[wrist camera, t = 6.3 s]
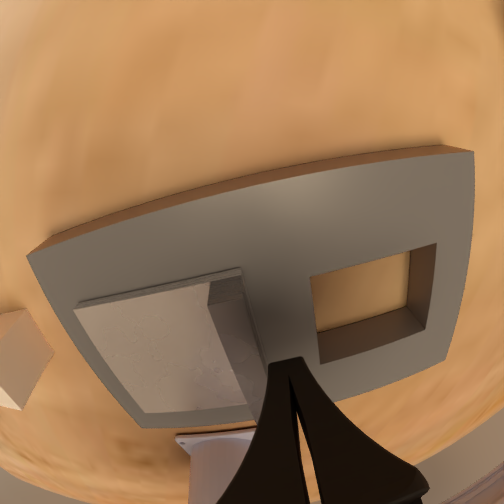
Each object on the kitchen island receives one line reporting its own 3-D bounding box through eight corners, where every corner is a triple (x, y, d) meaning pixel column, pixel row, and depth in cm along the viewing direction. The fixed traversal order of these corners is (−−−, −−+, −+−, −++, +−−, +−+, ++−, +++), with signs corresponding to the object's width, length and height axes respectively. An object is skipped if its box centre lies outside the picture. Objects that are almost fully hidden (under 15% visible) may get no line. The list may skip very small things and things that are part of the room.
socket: (429, 338, 18) (445, 360, 15) (147, 402, 18) (141, 428, 16) (443, 144, 12) (473, 151, 10) (50, 236, 13) (26, 255, 10)
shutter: (275, 390, 14) (280, 421, 12) (146, 405, 15) (140, 433, 13) (240, 267, 11) (242, 298, 9) (78, 302, 11) (58, 331, 9)
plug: (54, 352, 16) (14, 427, 9) (19, 353, 16) (-18, 416, 10) (26, 308, 15) (-28, 380, 8) (-5, 315, 15) (-53, 375, 8)
